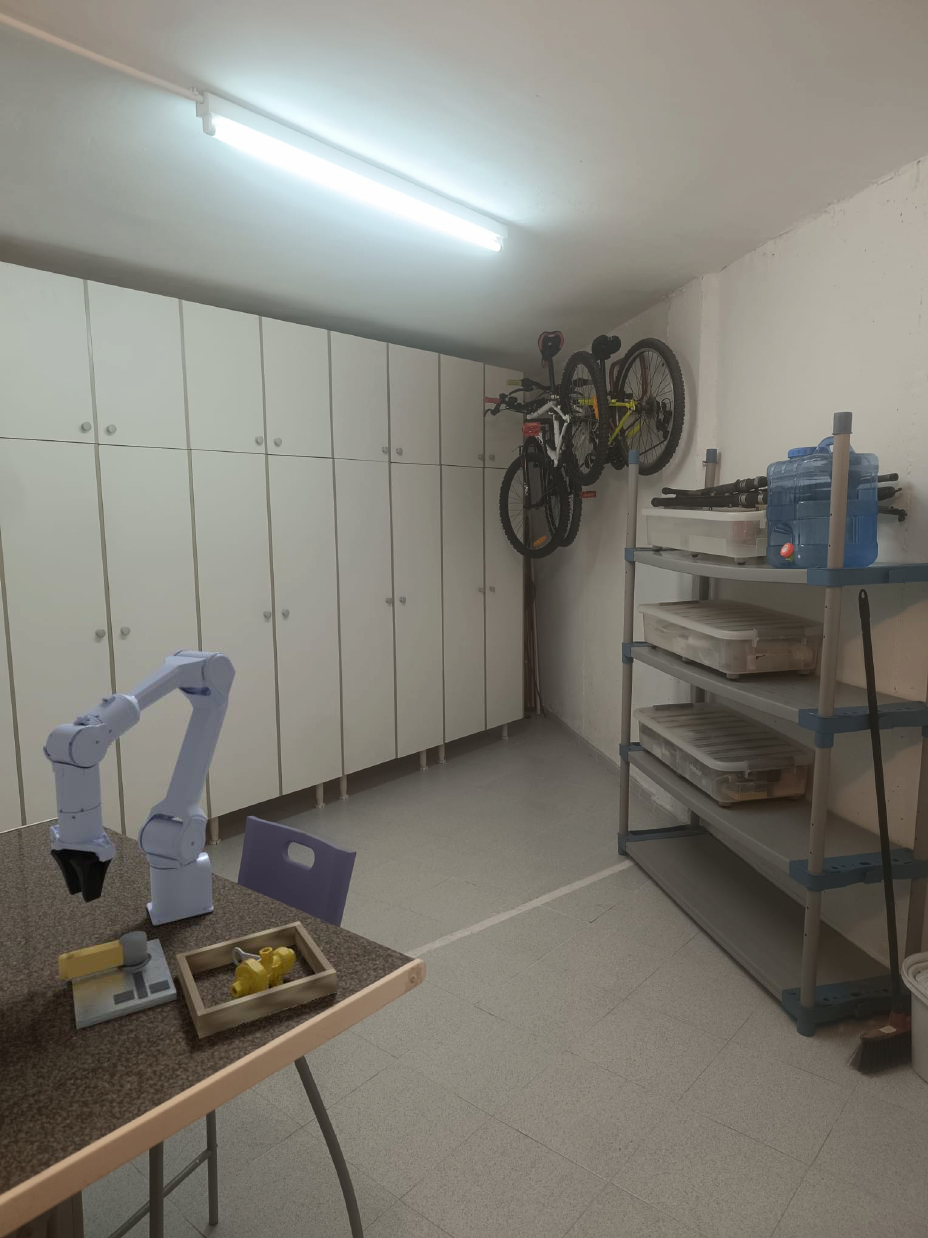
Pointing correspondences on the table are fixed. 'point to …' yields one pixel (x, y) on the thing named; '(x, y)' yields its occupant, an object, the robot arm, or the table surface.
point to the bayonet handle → (104, 956)
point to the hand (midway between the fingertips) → (85, 895)
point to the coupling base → (123, 989)
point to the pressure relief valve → (261, 970)
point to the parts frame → (262, 1001)
